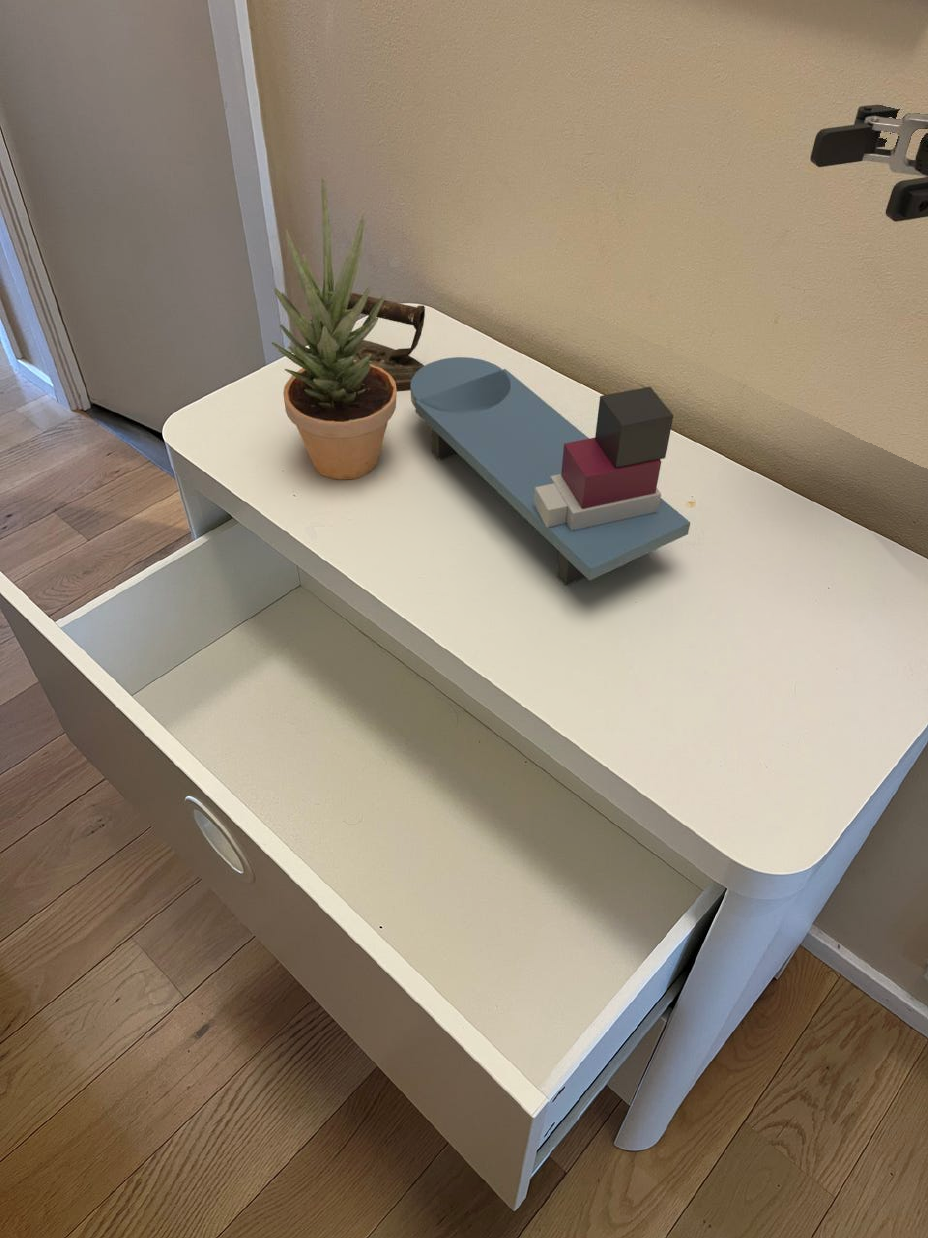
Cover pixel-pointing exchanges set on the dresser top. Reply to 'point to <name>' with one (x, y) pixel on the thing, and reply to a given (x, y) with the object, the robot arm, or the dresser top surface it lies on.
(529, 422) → the ironing board
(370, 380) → the potted plant
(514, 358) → the dresser top surface
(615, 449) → the stacked block tower
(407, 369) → the clothes iron
